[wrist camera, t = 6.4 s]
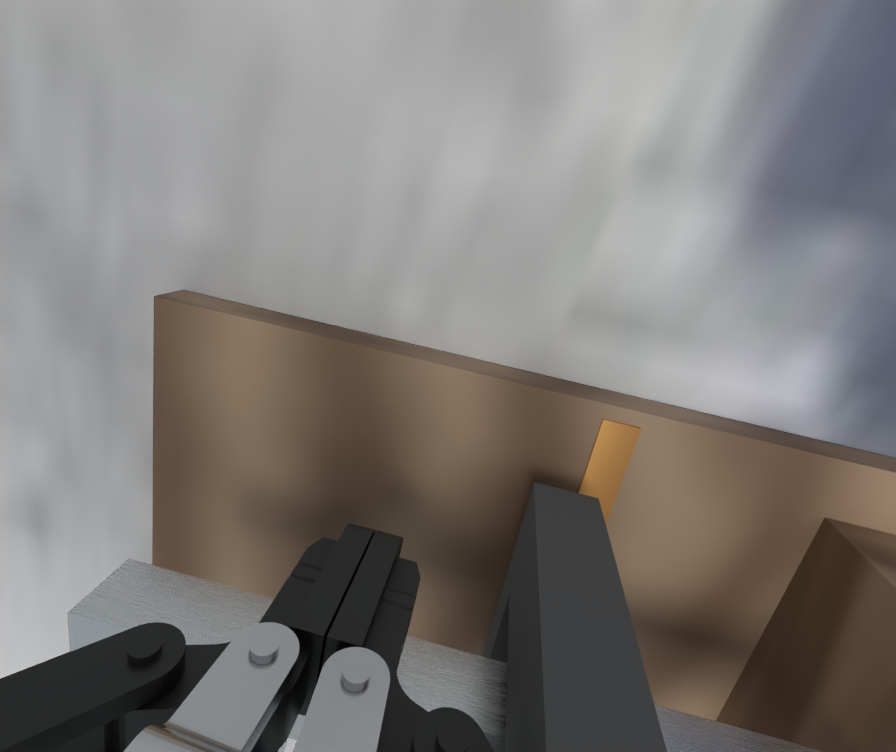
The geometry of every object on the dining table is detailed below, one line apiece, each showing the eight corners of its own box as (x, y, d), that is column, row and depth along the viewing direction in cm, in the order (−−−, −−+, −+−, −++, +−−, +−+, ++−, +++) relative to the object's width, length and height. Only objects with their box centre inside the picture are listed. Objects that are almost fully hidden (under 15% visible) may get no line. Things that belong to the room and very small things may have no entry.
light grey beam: (133, 613, 15) (67, 682, 13) (132, 551, 14) (61, 612, 12) (825, 810, 13) (884, 926, 11) (866, 752, 13) (937, 864, 11)
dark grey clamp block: (471, 692, 18) (428, 1104, 10) (534, 482, 15) (549, 812, 7) (525, 707, 18) (527, 1138, 10) (598, 498, 15) (695, 856, 7)
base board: (175, 590, 23) (-29, 812, 14) (182, 289, 18) (-111, 356, 10) (750, 751, 21) (903, 1110, 13) (918, 463, 17) (1337, 727, 8)
